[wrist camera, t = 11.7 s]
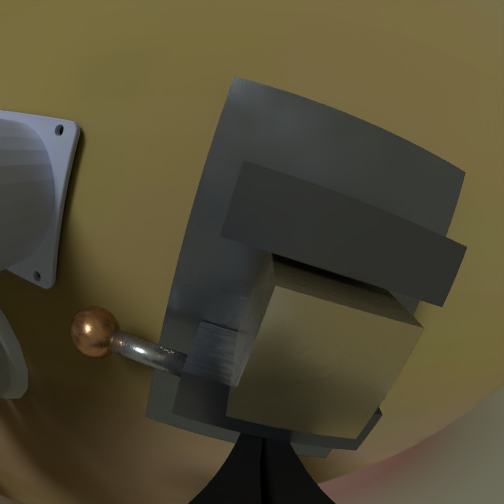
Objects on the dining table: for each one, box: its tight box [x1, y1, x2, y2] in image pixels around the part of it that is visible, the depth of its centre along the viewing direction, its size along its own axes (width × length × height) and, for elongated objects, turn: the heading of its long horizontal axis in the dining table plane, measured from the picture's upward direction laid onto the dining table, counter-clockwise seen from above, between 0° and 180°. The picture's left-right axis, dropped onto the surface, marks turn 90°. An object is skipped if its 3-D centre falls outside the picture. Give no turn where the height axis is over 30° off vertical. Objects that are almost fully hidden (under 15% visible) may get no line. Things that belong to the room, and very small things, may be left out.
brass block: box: [226, 251, 424, 439], centre depth 10 cm, size 4×4×5 cm
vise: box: [146, 77, 467, 458], centre depth 11 cm, size 10×16×4 cm, turn 162°
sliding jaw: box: [70, 306, 382, 450], centre depth 11 cm, size 12×2×4 cm, turn 72°
